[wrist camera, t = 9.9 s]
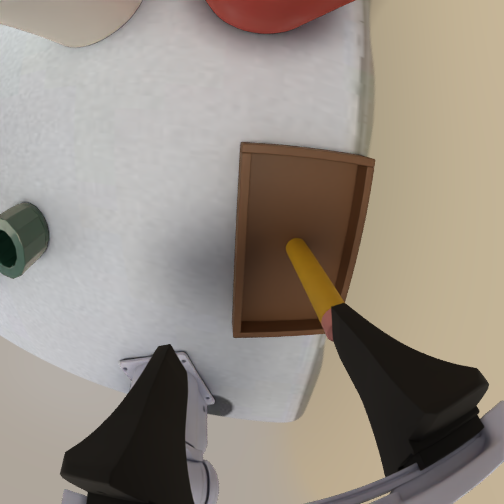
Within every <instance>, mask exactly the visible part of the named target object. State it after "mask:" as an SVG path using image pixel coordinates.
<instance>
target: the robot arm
mask: <svg viewBox="0 0 504 504" xmlns="http://www.w3.org/2000/svg"><path fill="white" fill-rule="evenodd" d="M331 314H332V334H333V341H334V344H335V347H336V349H337V352H338V354H339V357H340V359H341V361H342V363H343V365H344V367H345V368H346V370H347V372H348V374H349V376H350V378H351V380H352V382H353V384H354V386H355V388H356V389H357V391H358V393H359V395H360V398H361V400H362V402H363V404H364V407H365V410H366V413H367V415H368V418H369V421H370V424H371V427H372V430H373V433H374V436H375V440H376V443H377V446H378V450H379V453H380V457H381V461H382V465H383V469H384V474H385V478H383V479H380V480H378V481H375V482H373V483H370V484H368V485H365V486H362V487H360V488H357V489H354V490H351V491H348V492H345V493H342V494H339V495H335V496H332V497H329V498H325V499H321V500H318V501H314V502H309V503H305V504H360V503H363V502H366V501H369V500H371V499H374V498H376V497H379V496H381V495H383V494H386V493H388V492H390V491H391V492H390V494H389V495H387V496H385V497H383V498H381V499H378V500H376V501H374V502H372V503H369V504H453V503H454V502H456V501H457V500H459V499H460V498H461V497H463V496H464V495H465V494H467V493H468V492H469V491H470V490H472V489H473V488H474V487H475V486H477V485H478V484H479V483H480V482H482V481H483V480H484V479H485V478H486V477H487V476H489V475H490V474H491V473H492V472H493V471H494V470H495V469H496V468H497V467H498V466H499V465H501V464H502V463H503V462H504V401H500V402H499V403H498V404H497V405H496V406H495V407H493V408H492V409H491V410H490V411H489V412H487V413H486V414H485V415H484V416H483V417H482V418H481V419H479V417H478V415H477V414H478V413H479V409H478V408H477V406H476V405H477V404H478V403H479V401H480V400H481V399H482V397H483V396H484V394H485V393H486V391H487V389H488V386H489V383H488V382H487V380H486V379H485V378H484V376H483V375H482V374H481V372H480V371H479V370H478V369H477V368H473V367H468V366H462V365H457V364H453V363H450V362H446V361H443V360H440V359H437V358H434V357H431V356H429V355H426V354H424V353H421V352H419V351H417V350H414V349H412V348H410V347H408V346H406V345H404V344H403V343H400V342H399V341H397V340H396V339H394V338H392V337H391V336H389V335H387V334H386V333H384V332H383V331H381V330H380V329H378V328H377V327H376V326H374V325H373V324H371V323H370V322H369V321H367V320H366V319H365V318H363V317H362V316H361V315H359V314H358V313H357V312H356V311H354V310H353V309H352V308H350V307H349V306H348V305H347V304H345V303H341V304H338V305H335V306H331ZM182 359H184V360H182ZM119 366H120V367H121V369H122V370H123V371H124V372H125V374H126V375H127V376H128V377H129V379H130V380H131V381H132V383H131V387H130V391H129V393H128V394H127V396H126V397H125V398H124V400H123V401H122V402H121V403H120V405H119V406H118V407H117V408H116V409H115V411H114V412H113V413H112V414H111V415H110V416H109V417H108V418H107V419H106V420H105V421H104V422H103V423H102V424H101V425H100V426H99V427H98V428H97V429H96V430H95V431H94V432H93V433H91V434H90V435H89V436H88V437H87V438H85V439H84V440H83V441H82V442H80V443H79V444H77V445H76V446H74V447H73V448H71V449H70V450H68V451H66V452H65V455H64V459H63V464H62V468H61V472H60V475H61V476H62V477H63V478H64V479H65V480H67V481H68V482H70V483H72V484H74V485H76V486H77V487H79V488H81V489H83V490H85V491H87V492H88V495H87V496H85V495H82V494H79V493H75V492H73V491H70V490H66V489H64V493H63V498H62V504H216V503H217V499H218V494H219V481H218V477H217V473H216V471H215V469H214V468H213V466H212V465H211V463H210V462H209V461H207V460H203V454H204V452H205V450H206V448H207V405H209V404H214V403H215V400H214V398H213V397H212V395H211V393H210V392H209V390H208V389H207V387H206V386H205V384H204V382H203V381H202V379H201V378H200V376H199V374H198V373H197V371H196V369H195V368H194V366H193V364H192V363H191V361H190V359H189V358H188V356H187V354H186V353H184V352H178V353H175V351H174V349H173V348H172V346H171V344H168V345H162V346H158V348H157V349H156V351H155V352H154V354H153V355H152V357H145V358H138V359H130V360H122V361H120V362H119Z"/></svg>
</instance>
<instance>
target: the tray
mask: <svg viewBox="0 0 504 504" xmlns="http://www.w3.org/2000/svg"><path fill="white" fill-rule="evenodd" d="M374 165H375V159H372V158H369V157H365V156H361V155H355V154H349V153H343V152H337V151H330V150H323V149H315V148H307V147H298V146H288V145H278V144H265V143H250V142H241V144H240V160H239V178H238V196H237V215H236V236H235V259H234V284H233V313H232V327H233V338H253V337H281V336H300V335H314V334H325V331H324V329H323V327H322V325H321V323H320V321H319V319H318V316H317V314H316V312H315V310H314V308H313V306H312V304H311V302H310V300H309V297H308V295H307V293H306V291H305V289H304V287H303V285H302V283H301V281H300V279H299V277H298V275H297V273H296V271H295V268H294V266H293V264H292V262H291V260H290V258H289V256H288V254H287V252H286V245H287V243H288V242H289V241H290V240H292V239H294V238H300V239H302V240H304V242H305V243H306V244H307V246H308V247H309V249H310V250H311V252H312V253H313V255H314V256H315V258H316V259H317V261H318V262H319V264H320V265H321V267H322V268H323V270H324V271H325V273H326V274H327V276H328V277H329V279H330V280H331V282H332V283H333V285H334V287H335V288H336V290H337V291H338V293H339V294H340V296H341V297H342V299H343V301H344V302H345V300H346V297H347V293H348V289H349V286H350V282H351V278H352V274H353V271H354V267H355V263H356V259H357V255H358V250H359V246H360V242H361V237H362V233H363V228H364V223H365V218H366V213H367V208H368V202H369V196H370V191H371V185H372V179H373V172H374Z"/></svg>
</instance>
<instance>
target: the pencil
mask: <svg viewBox="0 0 504 504" xmlns="http://www.w3.org/2000/svg"><path fill="white" fill-rule="evenodd" d="M286 252H287V254H288V256H289V258H290V260H291V262H292V264H293V266H294V268H295V271H296V273H297V275H298V277H299V279H300V281H301V283H302V285H303V287H304V289H305V291H306V293H307V295H308V297H309V300H310V302H311V304H312V306H313V308H314V310H315V312H316V314H317V316H318V319H319V321H320V323H321V325H322V327H323V329H324V331H325V334H326V336H327V338H328V339H329V340H331V341H333V334H332V314H331V306H335V305H338V304H341V303H345V302H344V301H343V299H342V297H341V296H340V294H339V293H338V291H337V290H336V288H335V287H334V285H333V283H332V282H331V280H330V279H329V277H328V276H327V274H326V273H325V271H324V270H323V268H322V267H321V265H320V264H319V262H318V261H317V259H316V258H315V256H314V255H313V253H312V252H311V250H310V249H309V247H308V246H307V244H306V243H305V242H304V240H302V239H300V238H294V239H292V240H290V241H289V242H288V243H287V245H286ZM333 342H334V341H333Z"/></svg>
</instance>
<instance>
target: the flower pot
mask: <svg viewBox="0 0 504 504" xmlns="http://www.w3.org/2000/svg"><path fill="white" fill-rule="evenodd" d="M353 1H355V0H206V2H207V3H208V5H209V6H210V7H211V9H212V10H213V11H214V13H215V14H216V15H217V16H218V17H219V18H221V19H222V20H223V21H225V22H226V23H228V24H230V25H232V26H234V27H236V28H238V29H241V30H244V31H249V32H254V33H263V34H271V33H281V32H286V31H289V30H292V29H295V28H297V27H299V26H301V25H303V24H305V23H307V22H309V21H312V20H314V19H316V18H318V17H320V16H322V15H325V14H327V13H329V12H331V11H333V10H335V9H337V8H339V7H341V6H344V5H346V4H348V3H350V2H353Z"/></svg>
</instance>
